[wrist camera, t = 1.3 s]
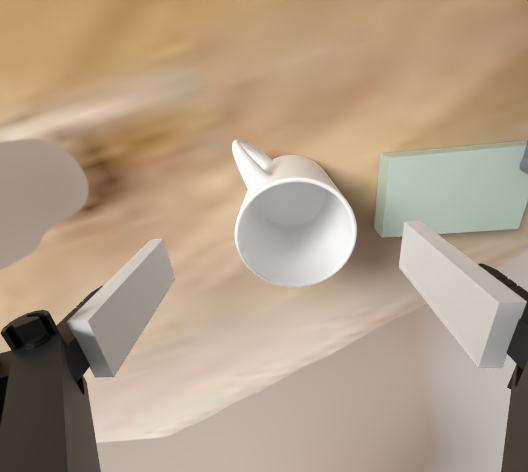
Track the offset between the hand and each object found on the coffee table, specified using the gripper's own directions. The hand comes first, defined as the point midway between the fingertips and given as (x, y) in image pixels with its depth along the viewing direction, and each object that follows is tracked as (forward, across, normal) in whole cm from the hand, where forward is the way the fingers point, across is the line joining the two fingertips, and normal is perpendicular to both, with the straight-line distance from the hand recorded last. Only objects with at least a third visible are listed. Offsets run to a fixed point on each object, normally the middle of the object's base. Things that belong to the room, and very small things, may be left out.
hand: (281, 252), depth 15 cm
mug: (+15, 0, 0) cm, 15 cm away
